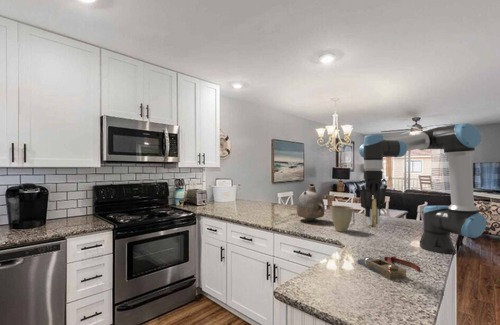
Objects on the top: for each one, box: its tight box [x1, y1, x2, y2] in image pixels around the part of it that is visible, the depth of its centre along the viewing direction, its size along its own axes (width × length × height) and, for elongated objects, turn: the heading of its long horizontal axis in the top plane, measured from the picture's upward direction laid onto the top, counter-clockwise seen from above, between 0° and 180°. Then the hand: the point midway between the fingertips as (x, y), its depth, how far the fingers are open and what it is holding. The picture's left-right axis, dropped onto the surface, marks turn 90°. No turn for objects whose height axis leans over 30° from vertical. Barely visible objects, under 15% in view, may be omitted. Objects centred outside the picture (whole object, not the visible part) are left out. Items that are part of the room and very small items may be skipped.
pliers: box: [377, 253, 421, 272], centre depth 117 cm, size 12×20×3 cm, turn 6°
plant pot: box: [329, 205, 354, 233], centre depth 176 cm, size 15×15×16 cm
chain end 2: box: [366, 257, 407, 281], centre depth 106 cm, size 8×13×4 cm, turn 17°
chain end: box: [357, 256, 383, 275], centre depth 111 cm, size 8×13×2 cm, turn 17°
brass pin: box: [368, 198, 378, 228], centre depth 112 cm, size 3×3×12 cm
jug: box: [296, 182, 325, 222], centre depth 205 cm, size 24×21×30 cm
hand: (372, 223), depth 112 cm, fingers closed on brass pin, 3 cm apart
